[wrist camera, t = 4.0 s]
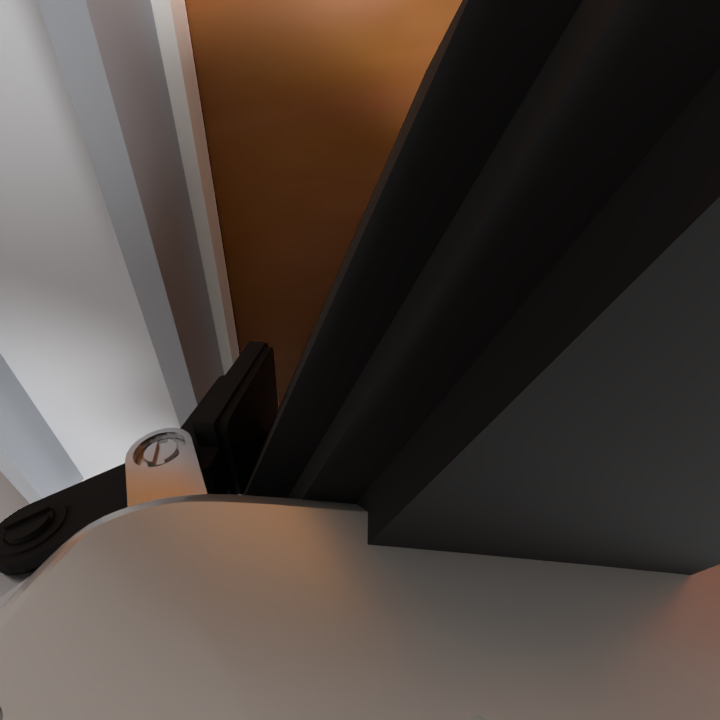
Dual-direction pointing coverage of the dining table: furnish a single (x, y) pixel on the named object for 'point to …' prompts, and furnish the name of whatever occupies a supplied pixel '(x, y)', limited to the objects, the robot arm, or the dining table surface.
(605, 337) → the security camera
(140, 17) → the rail mount
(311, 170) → the dining table surface
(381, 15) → the dining table surface
